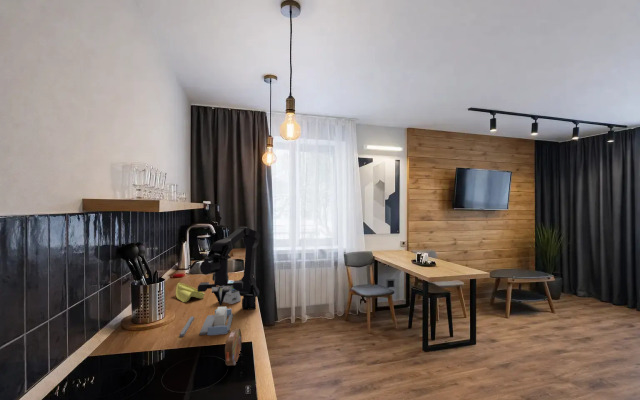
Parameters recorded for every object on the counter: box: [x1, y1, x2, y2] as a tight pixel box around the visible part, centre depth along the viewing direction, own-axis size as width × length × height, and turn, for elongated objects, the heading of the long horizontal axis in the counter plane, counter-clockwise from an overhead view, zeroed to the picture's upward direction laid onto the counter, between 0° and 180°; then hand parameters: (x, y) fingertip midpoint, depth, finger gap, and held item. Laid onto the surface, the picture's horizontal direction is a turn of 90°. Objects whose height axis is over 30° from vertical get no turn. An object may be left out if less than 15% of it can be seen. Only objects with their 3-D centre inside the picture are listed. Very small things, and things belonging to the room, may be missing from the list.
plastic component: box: [175, 282, 206, 303], centre depth 171 cm, size 20×7×10 cm
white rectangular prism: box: [213, 306, 228, 326], centre depth 130 cm, size 4×12×6 cm, turn 12°
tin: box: [224, 328, 242, 366], centre depth 100 cm, size 15×3×8 cm, turn 4°
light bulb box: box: [220, 279, 242, 305], centre depth 163 cm, size 11×7×11 cm, turn 58°
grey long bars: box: [179, 313, 234, 338], centre depth 129 cm, size 19×20×1 cm
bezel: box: [207, 308, 233, 336], centre depth 130 cm, size 8×22×3 cm, turn 12°
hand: (220, 305), depth 130 cm, fingers closed
